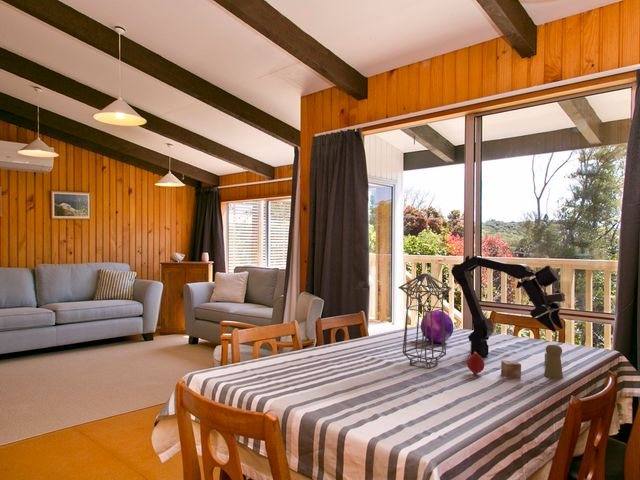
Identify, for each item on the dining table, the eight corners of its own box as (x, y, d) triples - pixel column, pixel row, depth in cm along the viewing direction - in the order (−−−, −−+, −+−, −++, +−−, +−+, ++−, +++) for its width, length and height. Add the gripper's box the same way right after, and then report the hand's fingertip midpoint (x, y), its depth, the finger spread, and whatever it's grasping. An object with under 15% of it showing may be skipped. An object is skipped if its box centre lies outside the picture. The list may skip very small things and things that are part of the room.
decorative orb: (457, 346, 212) (457, 313, 212) (423, 345, 213) (424, 312, 213) (448, 339, 227) (449, 308, 227) (417, 338, 228) (418, 308, 228)
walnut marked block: (506, 378, 162) (506, 363, 162) (501, 374, 167) (501, 359, 167) (520, 378, 162) (521, 363, 162) (515, 374, 167) (515, 360, 167)
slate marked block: (544, 366, 180) (544, 352, 180) (544, 363, 185) (545, 350, 185) (559, 368, 178) (559, 354, 178) (558, 365, 182) (559, 351, 182)
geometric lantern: (452, 365, 177) (454, 273, 177) (431, 374, 166) (433, 276, 165) (416, 357, 188) (417, 270, 188) (393, 365, 177) (395, 272, 176)
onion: (484, 373, 168) (484, 350, 168) (484, 377, 162) (484, 354, 162) (467, 371, 169) (467, 349, 170) (466, 375, 164) (467, 352, 164)
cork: (565, 379, 162) (565, 347, 162) (546, 378, 163) (547, 346, 163) (560, 374, 168) (560, 344, 168) (542, 373, 169) (542, 343, 169)
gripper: (546, 284, 170) (572, 323, 164) (561, 281, 184) (584, 317, 178) (520, 298, 176) (543, 336, 170) (535, 295, 190) (558, 330, 184)
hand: (558, 330), depth 175 cm, fingers open, 9 cm apart
